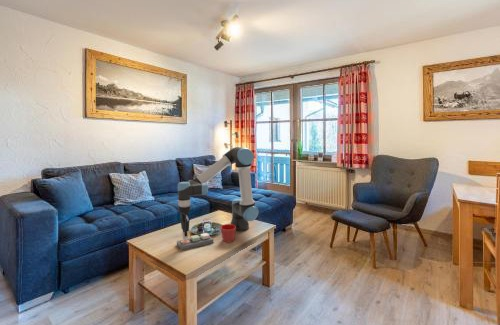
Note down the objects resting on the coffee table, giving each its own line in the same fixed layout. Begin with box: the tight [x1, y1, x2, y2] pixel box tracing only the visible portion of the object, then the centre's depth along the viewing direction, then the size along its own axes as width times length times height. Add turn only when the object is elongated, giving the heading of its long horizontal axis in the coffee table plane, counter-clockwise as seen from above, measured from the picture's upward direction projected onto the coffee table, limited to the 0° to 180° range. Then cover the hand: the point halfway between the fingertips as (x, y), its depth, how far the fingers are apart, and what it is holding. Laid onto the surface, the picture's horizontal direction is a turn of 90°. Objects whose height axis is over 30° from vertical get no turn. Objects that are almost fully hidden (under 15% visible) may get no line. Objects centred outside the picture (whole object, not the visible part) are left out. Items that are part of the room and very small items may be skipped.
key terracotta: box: [180, 241, 190, 245], centre depth 169 cm, size 5×5×2 cm
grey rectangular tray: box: [176, 235, 214, 251], centre depth 173 cm, size 22×10×3 cm, turn 122°
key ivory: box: [199, 232, 211, 240], centre depth 177 cm, size 5×5×2 cm
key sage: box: [190, 234, 200, 242], centre depth 173 cm, size 5×5×2 cm
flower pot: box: [220, 223, 236, 243], centre depth 180 cm, size 11×11×10 cm
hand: (185, 240), depth 169 cm, fingers closed
